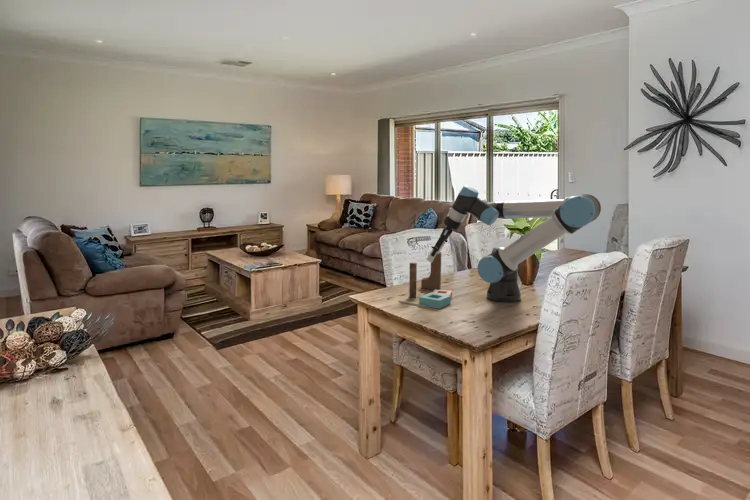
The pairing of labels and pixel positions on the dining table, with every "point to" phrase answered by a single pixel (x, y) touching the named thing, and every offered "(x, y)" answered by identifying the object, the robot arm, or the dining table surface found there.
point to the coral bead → (443, 292)
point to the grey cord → (412, 303)
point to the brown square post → (413, 280)
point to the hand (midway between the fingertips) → (432, 256)
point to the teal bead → (435, 300)
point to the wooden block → (433, 275)
